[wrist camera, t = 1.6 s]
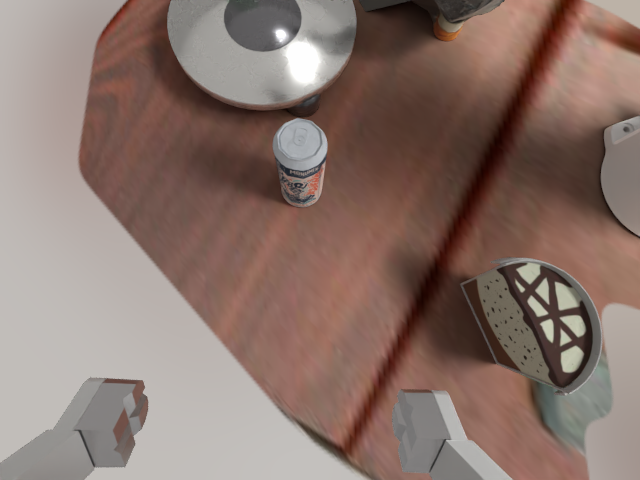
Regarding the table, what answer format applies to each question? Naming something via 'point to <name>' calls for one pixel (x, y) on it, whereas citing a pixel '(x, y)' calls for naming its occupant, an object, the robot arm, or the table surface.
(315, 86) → the round grey plate
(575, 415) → the table surface
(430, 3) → the dark grey angular piece
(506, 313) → the food container
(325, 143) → the beer can
